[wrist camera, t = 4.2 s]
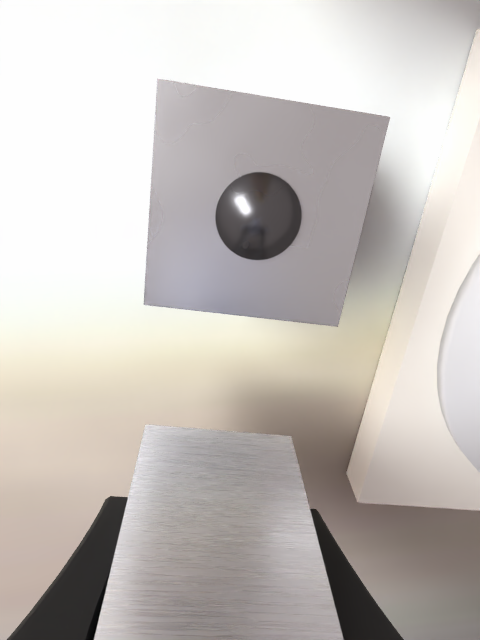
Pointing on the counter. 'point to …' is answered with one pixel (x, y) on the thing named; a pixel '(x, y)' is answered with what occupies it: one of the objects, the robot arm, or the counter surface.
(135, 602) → the block
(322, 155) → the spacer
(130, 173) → the counter surface
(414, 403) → the scale
